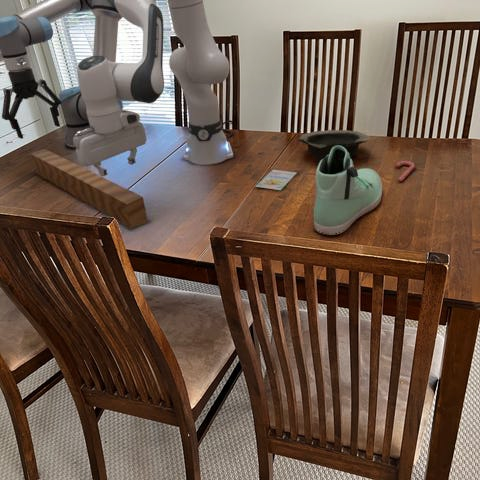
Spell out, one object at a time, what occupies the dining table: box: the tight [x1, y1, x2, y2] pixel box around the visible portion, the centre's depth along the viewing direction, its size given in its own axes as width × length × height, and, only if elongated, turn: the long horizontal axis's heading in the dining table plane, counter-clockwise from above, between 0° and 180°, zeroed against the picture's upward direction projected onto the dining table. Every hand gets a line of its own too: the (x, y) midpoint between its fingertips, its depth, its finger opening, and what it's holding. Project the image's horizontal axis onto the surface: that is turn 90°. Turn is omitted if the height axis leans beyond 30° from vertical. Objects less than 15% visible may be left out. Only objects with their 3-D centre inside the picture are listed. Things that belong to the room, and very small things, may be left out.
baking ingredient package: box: [255, 169, 297, 191], centre depth 159 cm, size 9×1×15 cm
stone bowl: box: [297, 129, 371, 164], centre depth 171 cm, size 25×25×9 cm
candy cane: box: [395, 160, 416, 183], centre depth 157 cm, size 6×15×2 cm, turn 145°
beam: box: [29, 148, 149, 230], centre depth 158 cm, size 65×6×8 cm, turn 44°
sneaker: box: [313, 146, 383, 236], centre depth 133 cm, size 14×35×20 cm, turn 152°
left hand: (39, 131), depth 168 cm, fingers open, 13 cm apart
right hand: (118, 169), depth 135 cm, fingers open, 8 cm apart
